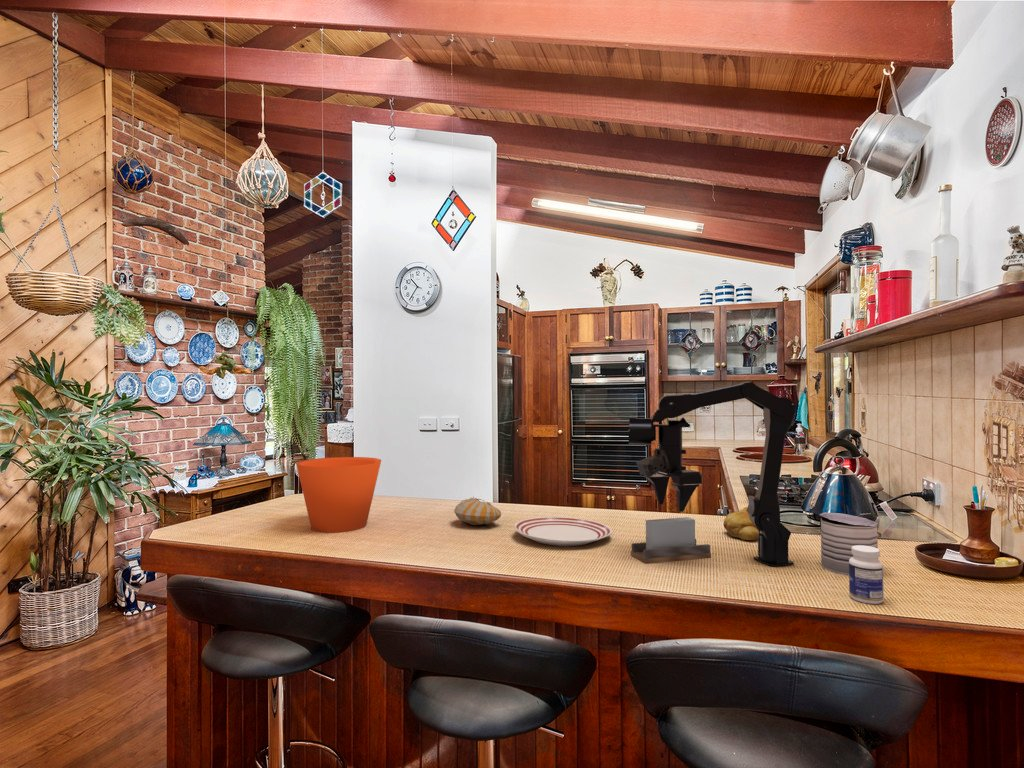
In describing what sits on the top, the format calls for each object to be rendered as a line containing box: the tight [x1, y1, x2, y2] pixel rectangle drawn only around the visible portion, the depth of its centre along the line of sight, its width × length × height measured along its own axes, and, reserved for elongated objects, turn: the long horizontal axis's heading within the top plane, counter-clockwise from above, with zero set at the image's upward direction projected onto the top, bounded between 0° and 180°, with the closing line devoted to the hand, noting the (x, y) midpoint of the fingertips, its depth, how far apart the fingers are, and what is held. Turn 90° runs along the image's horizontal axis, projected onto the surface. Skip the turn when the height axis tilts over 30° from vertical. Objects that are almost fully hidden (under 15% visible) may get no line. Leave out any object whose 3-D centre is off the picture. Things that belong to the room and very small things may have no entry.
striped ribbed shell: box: [453, 496, 502, 526], centre depth 175 cm, size 8×22×15 cm
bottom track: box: [630, 538, 712, 564], centre depth 137 cm, size 18×7×3 cm, turn 106°
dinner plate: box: [513, 516, 613, 547], centre depth 156 cm, size 28×27×3 cm
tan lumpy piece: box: [723, 506, 761, 541], centre depth 157 cm, size 13×10×8 cm
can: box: [818, 511, 879, 576], centre depth 127 cm, size 11×11×12 cm
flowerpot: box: [295, 456, 382, 534], centre depth 169 cm, size 25×25×20 cm
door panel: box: [645, 516, 696, 549], centre depth 137 cm, size 12×3×8 cm, turn 106°
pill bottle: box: [848, 545, 885, 605], centre depth 108 cm, size 6×6×10 cm
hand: (670, 507), depth 138 cm, fingers open, 9 cm apart
